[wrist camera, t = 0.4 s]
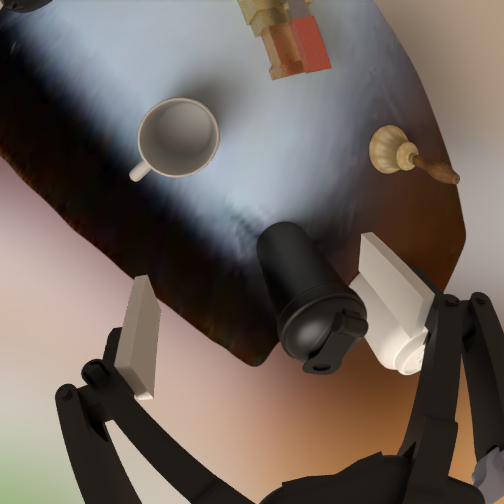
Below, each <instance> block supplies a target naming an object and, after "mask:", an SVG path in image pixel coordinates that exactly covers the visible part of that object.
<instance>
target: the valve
mask: <svg viewBox="0 0 504 504" xmlns="http://www.w3.org/2000/svg"><path fill="white" fill-rule="evenodd" d="M237 1H238V3H239V6H240V8H241V10H242V13H243V15H244V18H245V20H246V23H247V25H249V24H250V25H251V28H252V30H253V33H254V35H255V37H259V36H261V37H262V40H263V43H264V45H265V48H266V51H267V54H268V56H269V59H270V62H271V65H272V67H273V68H272V69H270V70H269V72H270V75H271V77H272V80H275V79H279V78H283V77H287V76H291V75H295V74H299V73H304V72H305V69H304V66H303V63H302V60H301V57H300V55H299V52H298V49H297V46H296V43H295V40H294V38H293V35H292V32H291V30H290V27H289V25H288V22H290V21H289V19H288V16H287V13H286V11H285V9H284V6H283V4H282V1H281V0H237ZM305 2H306V4H307V7H308V5H309V4H310V3H311V2H312V0H305ZM308 9H309V7H308ZM309 12H310V9H309ZM310 14H311V12H310ZM311 16H312V14H311Z"/></svg>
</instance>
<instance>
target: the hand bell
mask: <svg viewBox="0 0 504 504" xmlns="http://www.w3.org/2000/svg"><path fill="white" fill-rule="evenodd" d="M369 156H370V160H371V162H372V164H373V166H374V167H375V168H376V169H377V170H379V171H380V172H382V173H393V172H396V171H398V170H399V169H403V170H410V169H412V168H413V167H414V166H417V167H420V168H422V169H424V170H426V171H427V172H428V173H429V174H430V175H431V176H432V177H433V178H435V179H436V180H438V181H440V182H443V183H453V184H458V183H459V181H460V177H459V175H458V174H457V173H456V172H455V171H454V170H453V169H452V168H451V167H450V166H449V165H447V164H446V163H443V162H441V161H437V160H428V159H425V158H423V157H421V156H419V155H418V150H417V148H416V146H415V145H414V144H413V143H411V142H409V141H408V139H407V137H406V135H405V134H404V132H403V131H402V130H401V129H400V128H398V127H396V126H394V125H385V126H383V127H381V128H379V129H378V130H377V131H376V132H375V133H374V134H373V136H372V138H371V141H370V145H369Z"/></svg>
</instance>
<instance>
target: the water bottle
mask: <svg viewBox="0 0 504 504" xmlns="http://www.w3.org/2000/svg"><path fill="white" fill-rule="evenodd" d="M257 255H258V258H259V261H260V265H261V268H262V271H263V275H264V278H265V281H266V285H267V289H268V292H269V296H270V299H271V302H272V305H273V308H274V312H275V315H276V319H277V322H278V336H279V339H280V342H281V345H282V347H283V349H284V351H285V352H286V353H287V354H288V355H289V356H290V357H292V358H294V359H297V360H299V361H301V362H304V363H305V364H304V365H303V367H302V369H303V371H304V372H306V373H311V374H320V375H328V374H332V373H334V372H335V371H336V370H338V369H339V367H340V366H341V363H342V358H343V356H344V355H345V354H347V353H348V352H349V351H350V350H352V348H354V347H355V345H356V344H357V343H358V342H359V340H360V338H361V337H363V336H365V335H366V334H367V332H368V328H369V325H368V322H367V310H366V307H365V304H364V302H363V301H362V299H361V298H360V296H359V295H358V294H357V293H356V292H355V291H354V290H353V289H352V288H350V287H348V286H347V285H346V283H345V282H344V281H343V280H342V278H341V277H340V276H339V274H338V273H337V272H336V271H335V269H334V268H333V267H332V265H331V264H330V263H329V262H328V260H327V259H326V258H325V257H324V255H323V254H322V253H321V252H320V250H319V249H318V248H317V247H316V245H315V244H314V243H313V242H312V240H311V239H310V238H309V237H308V236H307V234H306V233H305V232H304V231H303V229H302V228H301V227H299V226H298V225H296V224H294V223H290V222H280V223H276V224H274V225H272V226H270V227H268V228H267V229H266V230H265V231H264V232H263V233H262V234H261V236H260V237H259V239H258V242H257Z"/></svg>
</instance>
